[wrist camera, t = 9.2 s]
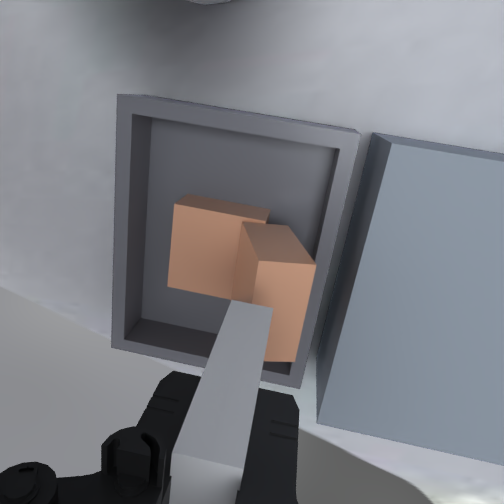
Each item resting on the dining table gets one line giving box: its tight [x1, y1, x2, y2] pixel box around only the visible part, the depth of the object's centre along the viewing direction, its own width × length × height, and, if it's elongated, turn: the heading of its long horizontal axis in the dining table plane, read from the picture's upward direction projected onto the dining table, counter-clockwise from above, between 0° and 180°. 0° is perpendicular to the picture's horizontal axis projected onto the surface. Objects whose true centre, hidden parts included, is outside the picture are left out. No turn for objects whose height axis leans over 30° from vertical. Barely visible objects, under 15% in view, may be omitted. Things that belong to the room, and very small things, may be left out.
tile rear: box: [167, 194, 271, 300], centre depth 24 cm, size 5×5×2 cm
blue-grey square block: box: [316, 132, 504, 466], centre depth 22 cm, size 14×15×6 cm
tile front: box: [231, 221, 316, 362], centre depth 20 cm, size 5×5×2 cm
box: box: [111, 94, 361, 389], centre depth 24 cm, size 12×15×4 cm
